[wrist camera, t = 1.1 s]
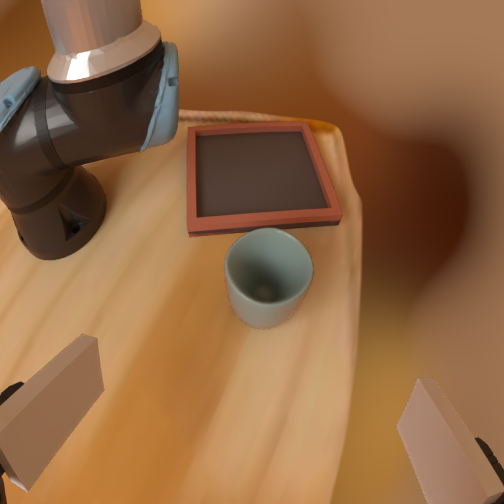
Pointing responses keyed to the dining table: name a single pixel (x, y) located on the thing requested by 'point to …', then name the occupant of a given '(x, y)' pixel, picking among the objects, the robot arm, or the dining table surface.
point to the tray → (256, 179)
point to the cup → (267, 277)
